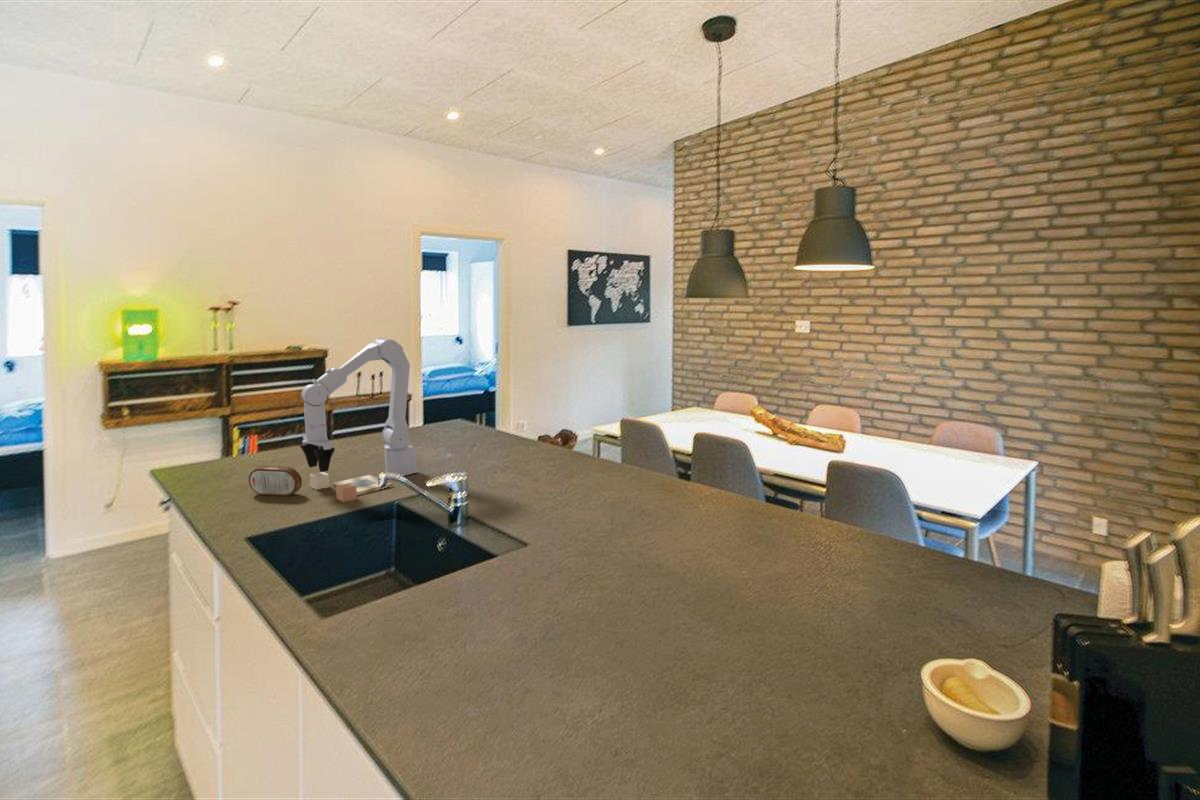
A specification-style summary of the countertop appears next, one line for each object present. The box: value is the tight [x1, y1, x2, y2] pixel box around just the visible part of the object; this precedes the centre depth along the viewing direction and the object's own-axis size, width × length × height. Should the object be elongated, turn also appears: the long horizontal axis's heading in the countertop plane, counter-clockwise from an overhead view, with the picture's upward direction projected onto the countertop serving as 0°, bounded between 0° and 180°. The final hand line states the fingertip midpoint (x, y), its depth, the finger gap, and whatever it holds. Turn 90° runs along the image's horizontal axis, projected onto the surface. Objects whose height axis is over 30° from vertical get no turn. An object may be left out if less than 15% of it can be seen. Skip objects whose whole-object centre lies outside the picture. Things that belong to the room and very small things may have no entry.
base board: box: [332, 474, 394, 496], centre depth 188 cm, size 12×14×1 cm
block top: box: [335, 483, 358, 503], centre depth 176 cm, size 4×4×4 cm
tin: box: [248, 465, 303, 497], centre depth 179 cm, size 15×3×8 cm, turn 84°
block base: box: [309, 471, 330, 491], centre depth 187 cm, size 4×4×4 cm
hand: (318, 468), depth 186 cm, fingers open, 7 cm apart
